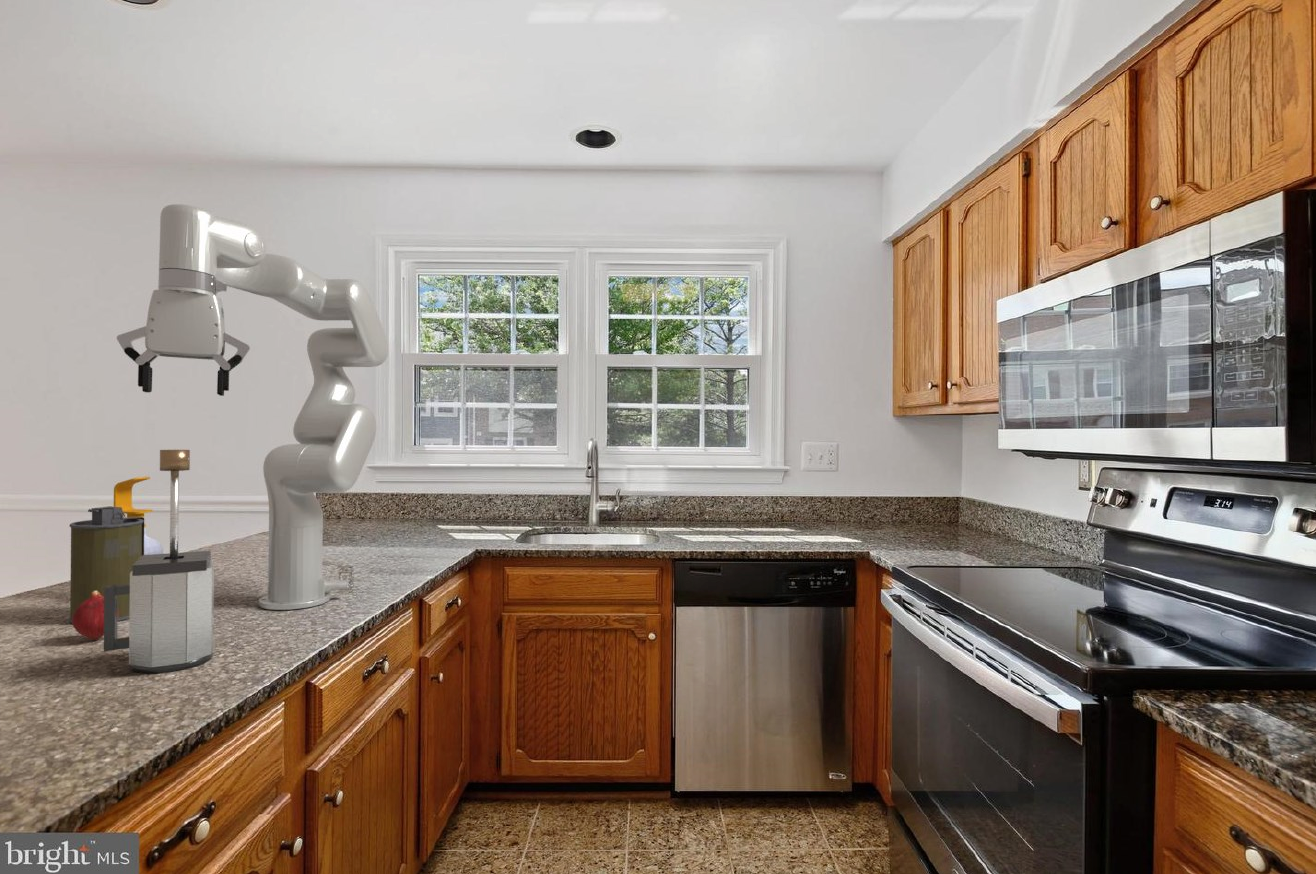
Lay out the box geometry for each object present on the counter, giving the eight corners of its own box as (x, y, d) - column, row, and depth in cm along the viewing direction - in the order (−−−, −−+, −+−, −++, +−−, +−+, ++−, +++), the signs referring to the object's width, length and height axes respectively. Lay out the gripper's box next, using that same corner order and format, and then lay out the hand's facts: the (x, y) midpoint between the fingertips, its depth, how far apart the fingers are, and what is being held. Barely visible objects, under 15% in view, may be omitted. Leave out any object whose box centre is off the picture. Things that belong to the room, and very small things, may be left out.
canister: (92, 627, 116) (93, 512, 115) (54, 621, 119) (55, 508, 119) (158, 612, 126) (159, 505, 126) (121, 606, 129) (122, 503, 129)
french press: (214, 647, 106) (215, 549, 106) (210, 666, 98) (211, 560, 98) (111, 660, 100) (112, 556, 100) (97, 681, 92) (98, 568, 91)
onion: (127, 637, 111) (127, 588, 111) (87, 647, 106) (88, 596, 105) (103, 633, 113) (103, 585, 113) (63, 643, 107) (63, 593, 107)
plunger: (202, 574, 104) (203, 449, 104) (198, 583, 98) (199, 450, 98) (149, 579, 101) (150, 449, 101) (142, 588, 95) (143, 450, 95)
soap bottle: (139, 604, 131) (140, 478, 131) (93, 603, 131) (94, 478, 131) (173, 593, 140) (174, 475, 140) (130, 592, 140) (131, 475, 140)
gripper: (252, 297, 114) (249, 397, 114) (124, 283, 106) (121, 392, 106) (249, 288, 108) (246, 395, 107) (113, 273, 99) (109, 388, 99)
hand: (184, 393), depth 107 cm, fingers open, 9 cm apart
